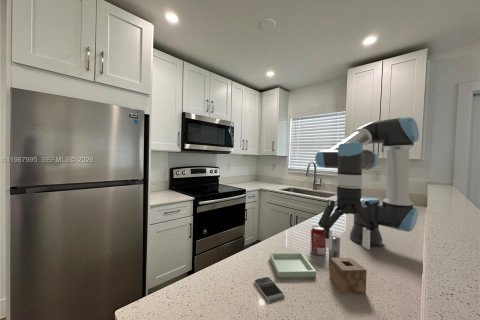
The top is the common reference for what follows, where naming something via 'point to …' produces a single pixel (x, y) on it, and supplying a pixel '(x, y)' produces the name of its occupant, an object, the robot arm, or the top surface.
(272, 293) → the cell phone
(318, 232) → the soda can
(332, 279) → the walnut block
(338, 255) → the cylinder
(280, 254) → the tray
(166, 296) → the top surface
